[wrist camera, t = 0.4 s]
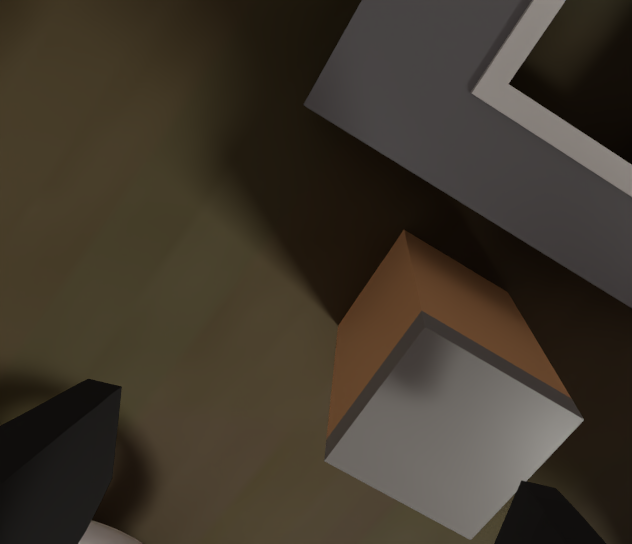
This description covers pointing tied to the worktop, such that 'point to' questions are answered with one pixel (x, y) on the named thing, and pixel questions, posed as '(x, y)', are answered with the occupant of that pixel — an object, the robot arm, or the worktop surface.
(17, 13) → the worktop surface
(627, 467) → the worktop surface
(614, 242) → the socket block
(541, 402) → the plug
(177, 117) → the worktop surface
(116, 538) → the mug
